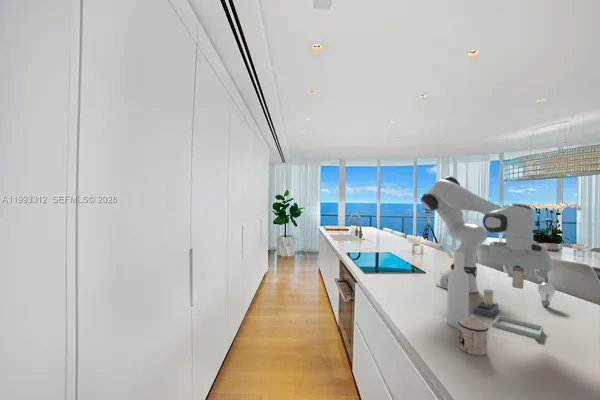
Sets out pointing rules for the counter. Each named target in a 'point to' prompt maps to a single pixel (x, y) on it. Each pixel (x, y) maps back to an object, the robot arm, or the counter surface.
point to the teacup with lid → (472, 336)
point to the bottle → (457, 292)
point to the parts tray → (535, 335)
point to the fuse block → (486, 310)
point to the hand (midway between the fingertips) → (518, 278)
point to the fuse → (488, 297)
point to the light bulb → (545, 293)
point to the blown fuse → (518, 277)
